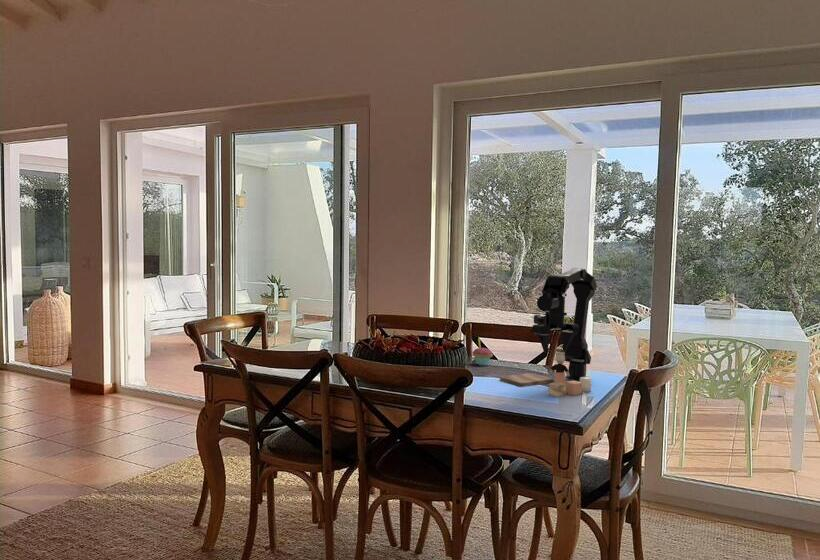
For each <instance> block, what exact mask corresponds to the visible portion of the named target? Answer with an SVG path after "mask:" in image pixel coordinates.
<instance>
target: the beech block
mask: <svg viewBox="0 0 820 560" xmlns="http://www.w3.org/2000/svg"><path fill="white" fill-rule="evenodd" d="M565 392H566V383H565V384H563V383H559V382H555V381H553V382H550V383H548V395H549V396H550V395H551V396H554V397H556V398H557V397H563V396H566V393H565Z"/></svg>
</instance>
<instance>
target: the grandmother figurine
mask: <svg viewBox="0 0 820 560" xmlns="http://www.w3.org/2000/svg"><path fill="white" fill-rule="evenodd" d="M554 360H555V361H556V364H553V365H552V366H551V367H550V369H549V371H548V372H549V373H550V374H553V372H554V371H555V372H554V382H559V383H563V384H566V375H567V376H568V377H567V378H569V376H570V374H569V368H568V367H567V366H566V365H565V364H564V362H565V354H558V355H557V356H556V357H555V359H554ZM565 373H566V374H565Z"/></svg>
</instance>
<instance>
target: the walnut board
mask: <svg viewBox="0 0 820 560" xmlns="http://www.w3.org/2000/svg"><path fill="white" fill-rule="evenodd" d="M499 380H500V381H502V382H505V383H509V384H512V385H516V386H518V387H521V388H522V387H528V386H536V385H542V384H549V383H554V378H551V377H547V376H543V375H540V374H537V373H534V372H533V373H532V372H527V373H521V374H511V375H505V376H500V378H499Z"/></svg>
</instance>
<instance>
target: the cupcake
mask: <svg viewBox="0 0 820 560" xmlns="http://www.w3.org/2000/svg"><path fill="white" fill-rule="evenodd" d="M477 340H478V341H477V342H478V347H477V348H476V349H473V351H472V356H473V357H474V359H475V362H476V363H475V364H476V365H477V364H479V365H478V366H488V365H489V362H490V359H491V358H492V357H493V356H494V353H493V351H492V350H490V349H489V348H486V347H482V346H481V339H480V337H479V335H478V339H477Z"/></svg>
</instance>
